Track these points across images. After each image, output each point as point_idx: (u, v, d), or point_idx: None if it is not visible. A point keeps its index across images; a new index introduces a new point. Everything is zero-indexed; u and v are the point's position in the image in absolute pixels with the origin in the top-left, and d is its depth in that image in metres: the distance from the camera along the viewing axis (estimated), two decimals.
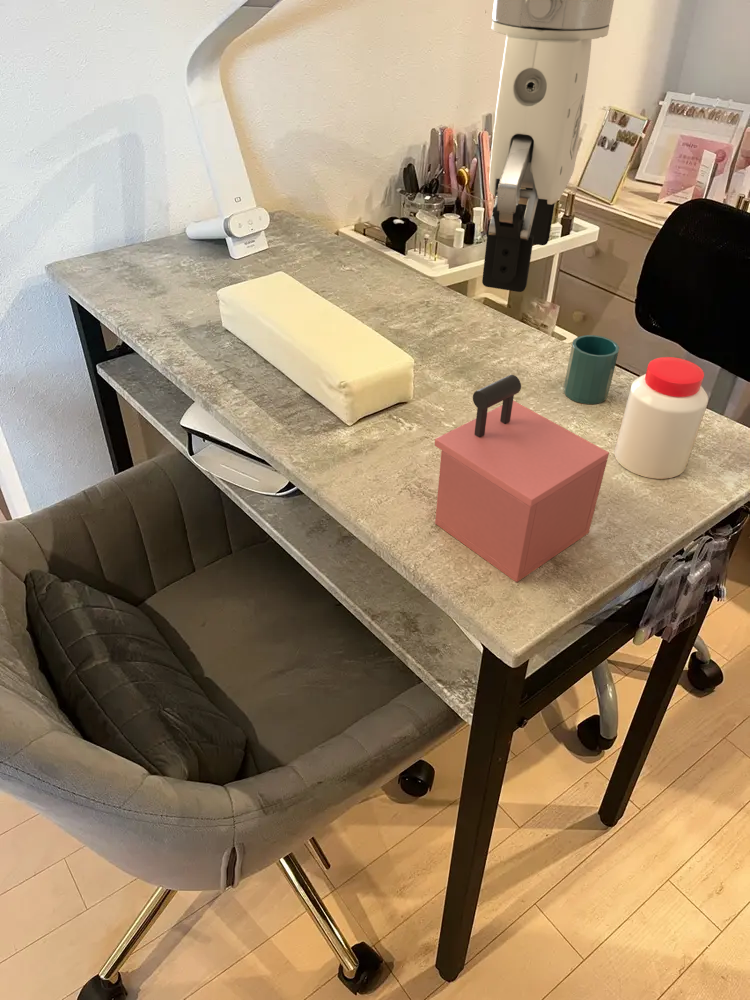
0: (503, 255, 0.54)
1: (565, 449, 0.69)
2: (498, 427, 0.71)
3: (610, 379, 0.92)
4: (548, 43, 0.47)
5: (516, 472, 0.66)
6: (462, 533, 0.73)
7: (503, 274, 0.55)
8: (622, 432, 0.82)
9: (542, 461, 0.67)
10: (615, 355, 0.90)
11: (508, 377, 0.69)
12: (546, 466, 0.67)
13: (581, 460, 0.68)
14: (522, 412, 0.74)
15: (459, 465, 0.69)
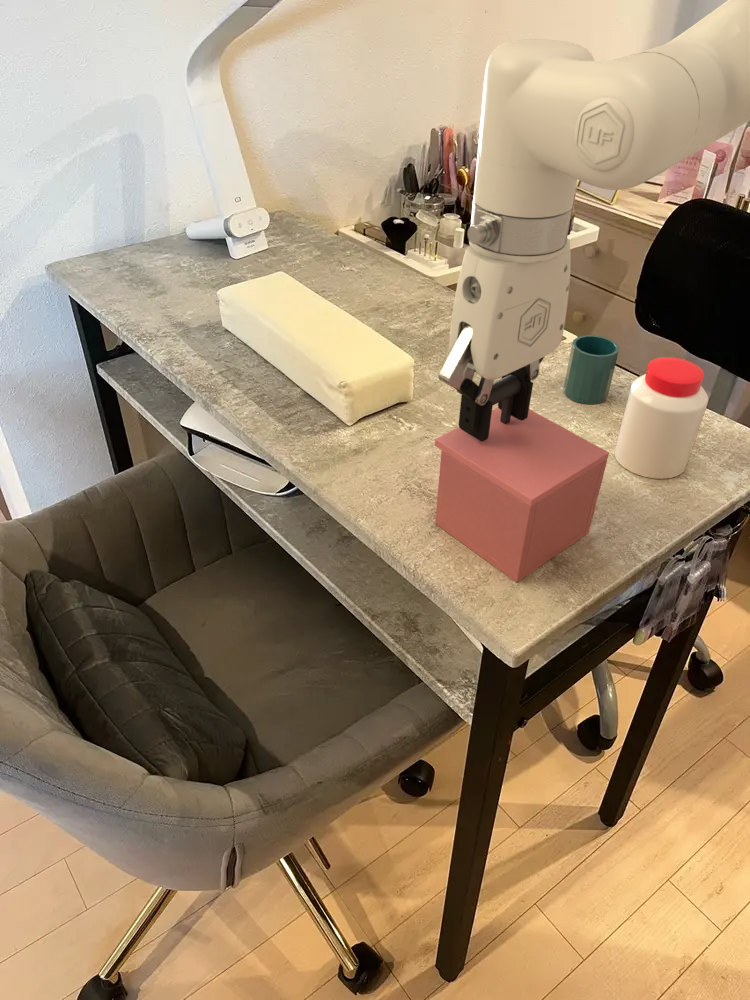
0: (467, 410, 0.67)
1: (565, 449, 0.69)
2: (498, 427, 0.71)
3: (610, 379, 0.92)
4: (484, 261, 0.58)
5: (516, 472, 0.66)
6: (462, 533, 0.73)
7: (467, 424, 0.68)
8: (622, 432, 0.82)
9: (542, 461, 0.67)
10: (615, 355, 0.90)
11: (508, 377, 0.69)
12: (546, 466, 0.67)
13: (581, 460, 0.68)
14: None
15: (459, 465, 0.69)
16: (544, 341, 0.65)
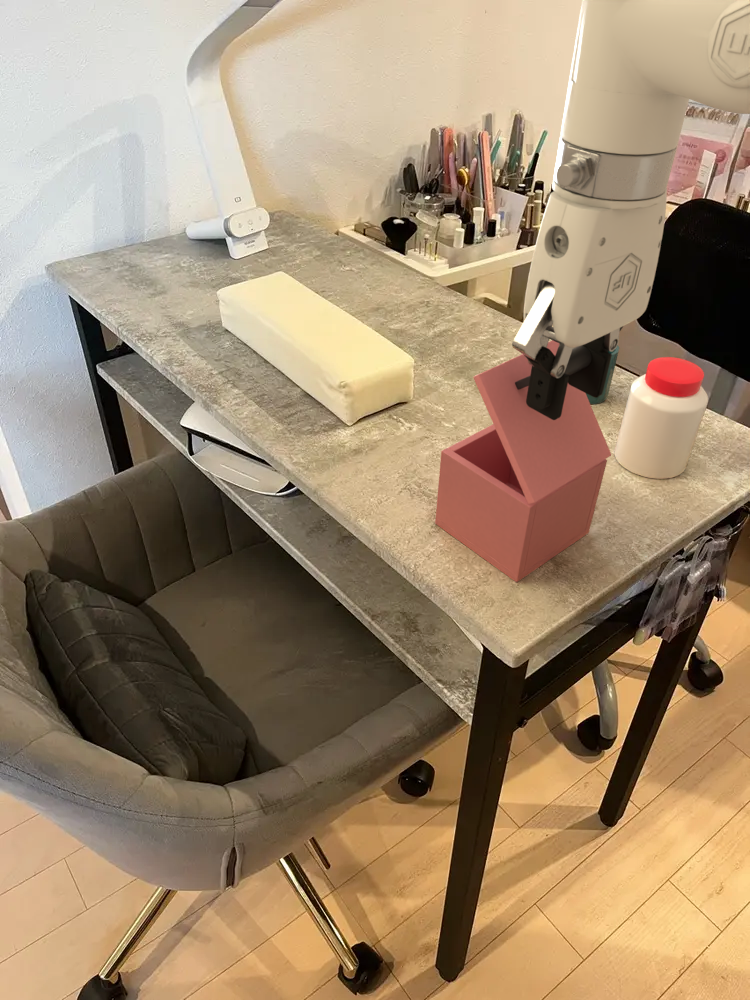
0: (539, 385, 0.60)
1: (581, 437, 0.67)
2: None
3: (610, 379, 0.92)
4: (574, 208, 0.50)
5: (533, 457, 0.64)
6: (462, 533, 0.73)
7: (537, 401, 0.60)
8: (622, 432, 0.82)
9: (558, 448, 0.65)
10: (615, 355, 0.90)
11: (584, 354, 0.62)
12: (559, 457, 0.65)
13: (588, 459, 0.67)
14: None
15: (459, 465, 0.69)
16: (631, 305, 0.57)
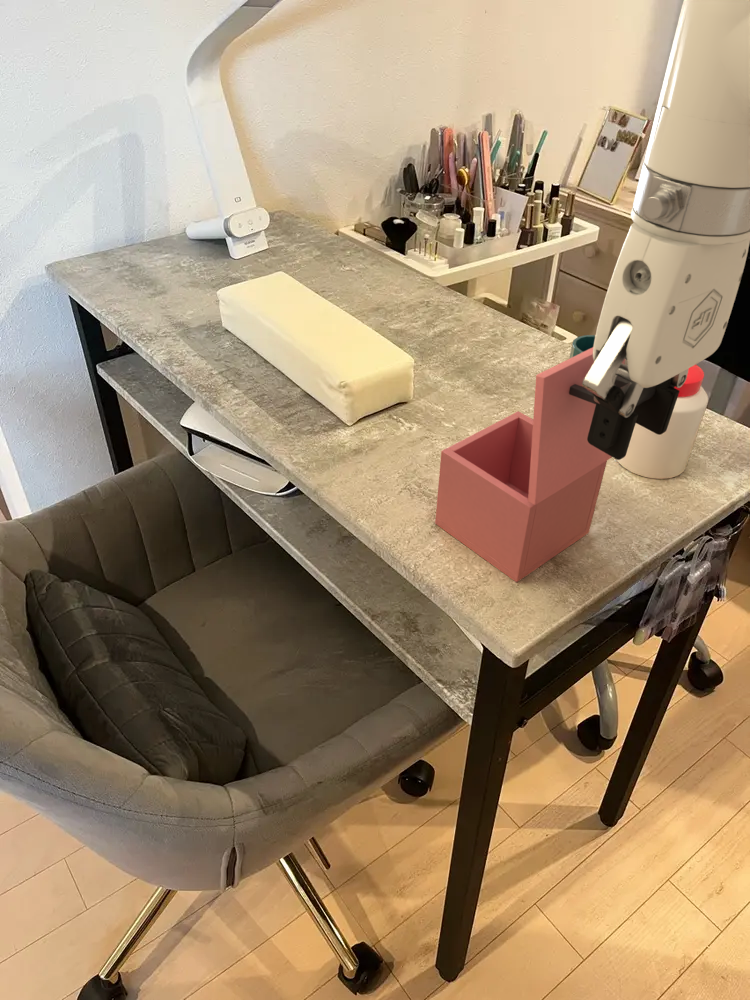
0: (604, 423, 0.56)
1: None
2: None
3: None
4: (660, 242, 0.46)
5: (552, 462, 0.62)
6: (462, 533, 0.73)
7: (601, 439, 0.57)
8: None
9: (575, 452, 0.64)
10: None
11: (650, 392, 0.58)
12: (572, 461, 0.64)
13: (592, 462, 0.67)
14: None
15: (459, 465, 0.69)
16: (706, 342, 0.53)
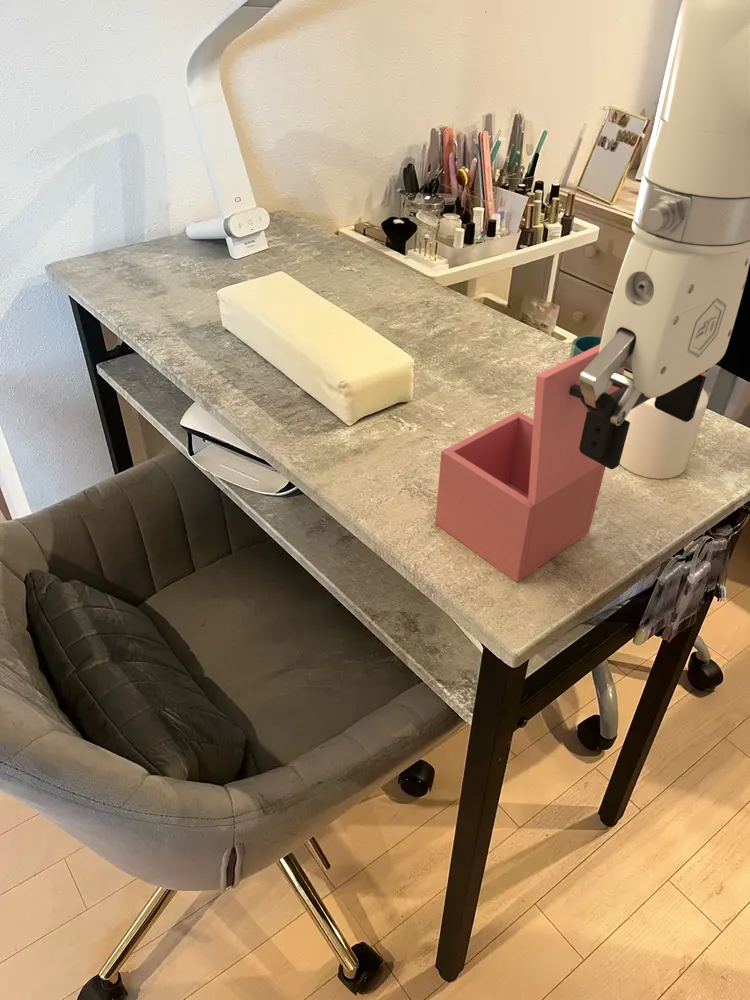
0: (595, 432, 0.54)
1: None
2: None
3: None
4: (661, 253, 0.47)
5: (552, 462, 0.62)
6: (462, 533, 0.73)
7: (593, 449, 0.55)
8: None
9: (575, 452, 0.64)
10: None
11: None
12: (572, 461, 0.64)
13: (592, 462, 0.67)
14: None
15: (459, 465, 0.69)
16: (711, 350, 0.53)
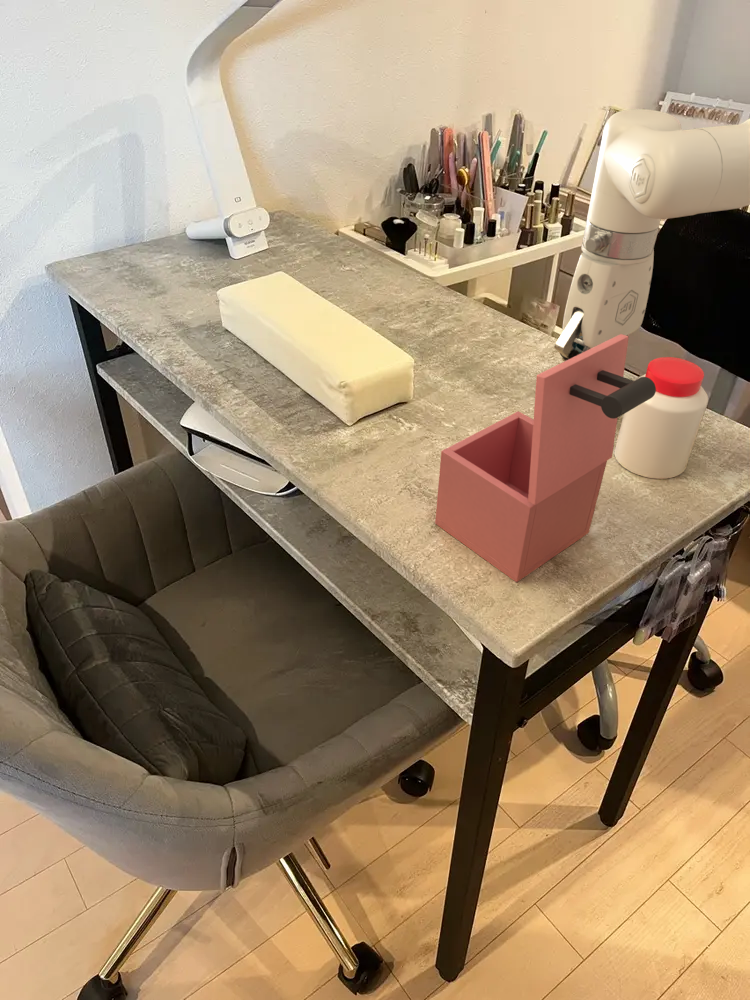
0: None
1: (597, 441, 0.66)
2: (590, 382, 0.61)
3: None
4: (596, 263, 0.81)
5: (552, 462, 0.62)
6: (462, 533, 0.73)
7: None
8: (622, 432, 0.82)
9: (575, 452, 0.64)
10: None
11: (650, 392, 0.58)
12: (572, 461, 0.64)
13: (592, 462, 0.67)
14: (618, 364, 0.63)
15: (459, 465, 0.69)
16: (631, 322, 0.88)
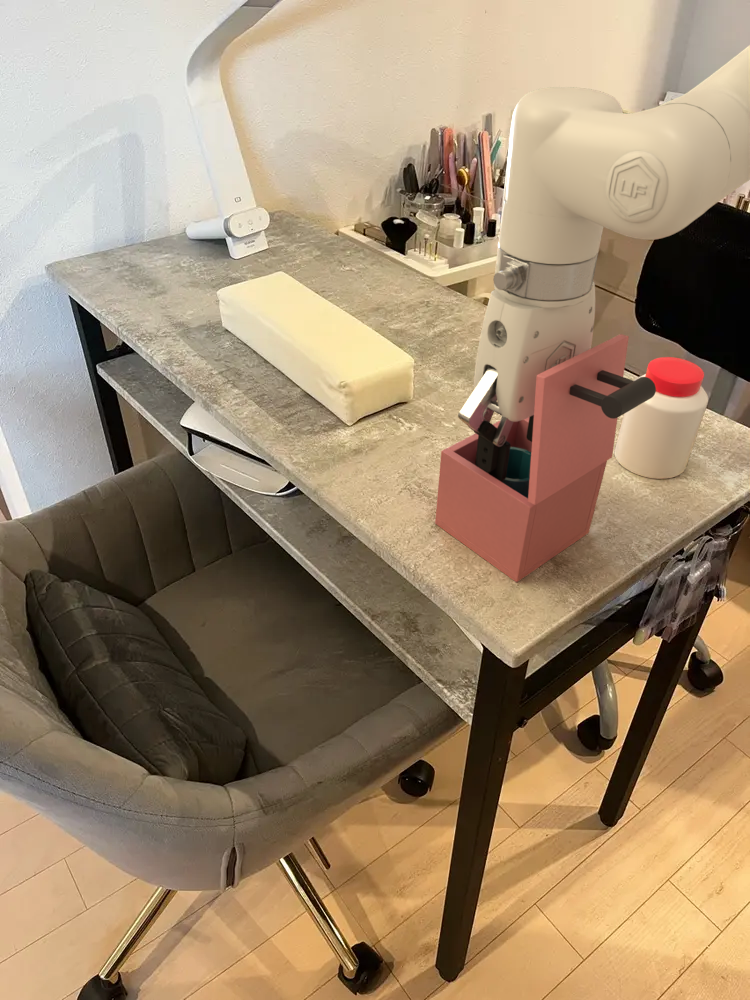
0: (484, 451, 0.67)
1: (597, 441, 0.66)
2: (590, 382, 0.61)
3: None
4: (510, 307, 0.57)
5: (552, 462, 0.62)
6: (462, 533, 0.73)
7: (484, 465, 0.67)
8: (622, 432, 0.82)
9: (575, 452, 0.64)
10: None
11: (650, 392, 0.58)
12: (572, 461, 0.64)
13: (592, 462, 0.67)
14: (618, 364, 0.63)
15: (459, 465, 0.69)
16: None
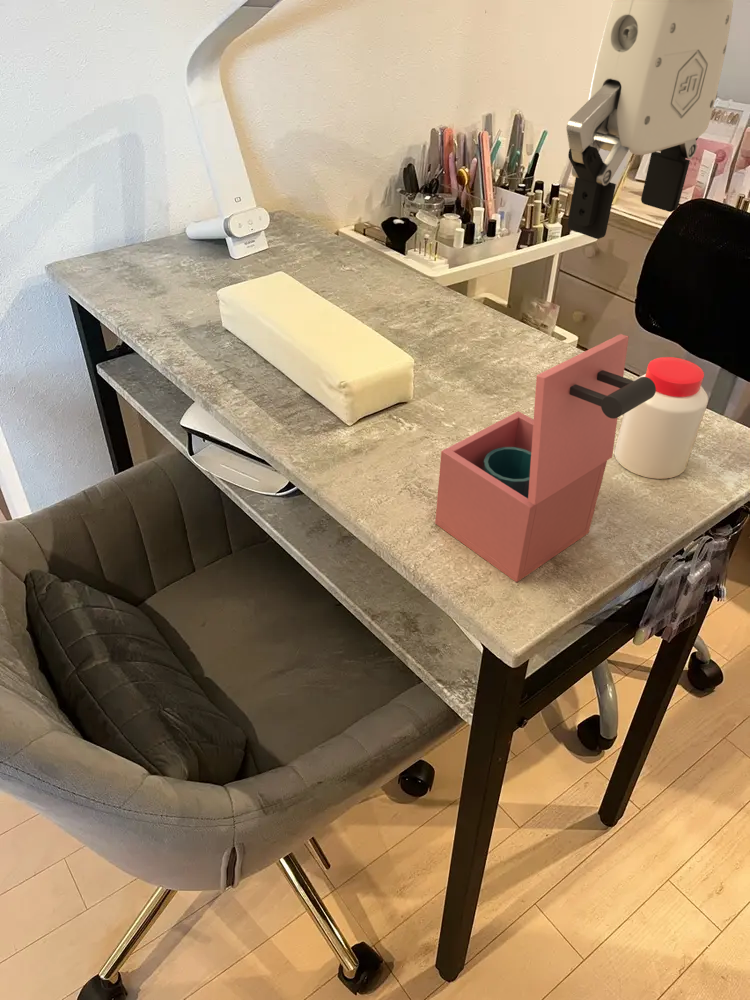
0: (583, 198, 0.57)
1: (597, 441, 0.66)
2: (590, 382, 0.61)
3: None
4: None
5: (552, 462, 0.62)
6: (462, 533, 0.73)
7: (581, 217, 0.57)
8: (622, 432, 0.82)
9: (575, 452, 0.64)
10: None
11: (650, 392, 0.58)
12: (572, 461, 0.64)
13: (592, 462, 0.67)
14: (618, 364, 0.63)
15: (459, 465, 0.69)
16: (694, 116, 0.56)
